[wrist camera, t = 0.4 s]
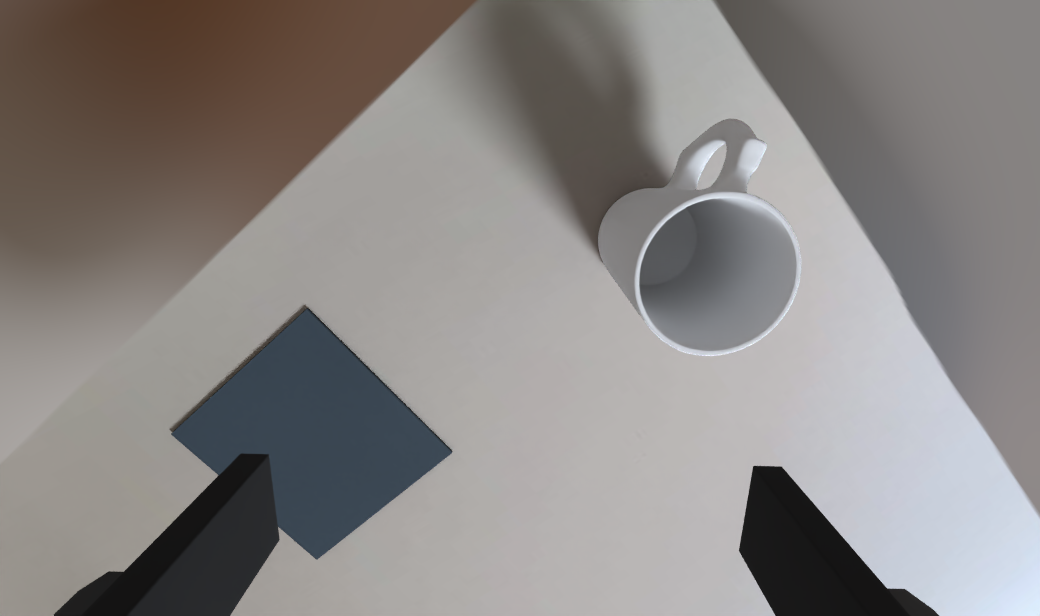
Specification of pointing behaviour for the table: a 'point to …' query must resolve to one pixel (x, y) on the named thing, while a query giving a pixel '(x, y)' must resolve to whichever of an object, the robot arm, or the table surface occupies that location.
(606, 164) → the table surface
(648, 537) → the table surface
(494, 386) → the table surface
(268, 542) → the robot arm
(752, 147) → the mug
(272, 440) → the mat
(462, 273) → the table surface
